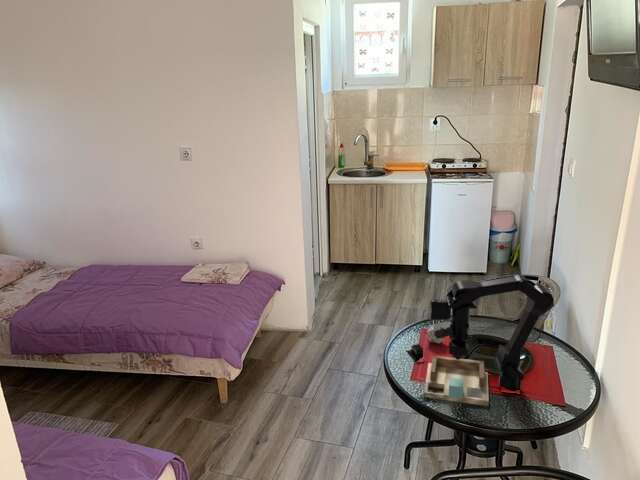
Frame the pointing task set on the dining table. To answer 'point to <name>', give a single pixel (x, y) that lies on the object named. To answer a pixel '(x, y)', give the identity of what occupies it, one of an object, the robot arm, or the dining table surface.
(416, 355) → the black box
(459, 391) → the block
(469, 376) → the board
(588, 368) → the dining table surface
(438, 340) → the game die
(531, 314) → the robot arm
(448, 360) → the cubby
